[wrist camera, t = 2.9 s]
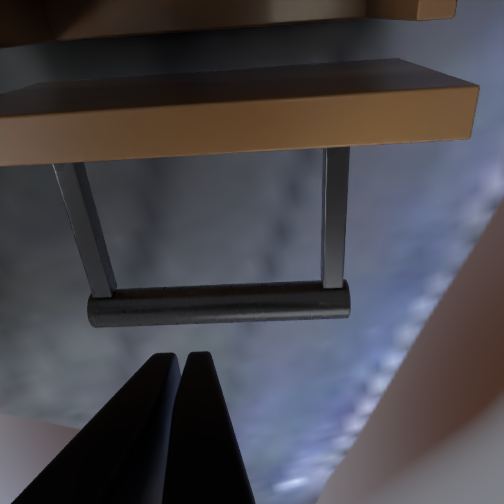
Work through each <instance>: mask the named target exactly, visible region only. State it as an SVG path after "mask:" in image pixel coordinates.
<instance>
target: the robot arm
mask: <svg viewBox="0 0 504 504" xmlns="http://www.w3.org/2000/svg"><path fill="white" fill-rule="evenodd" d="M11 504H256V503H255V499H254V496H253V493H252V489H251V486H250V483H249V479H248V476H247V473H246V469H245V466H244V463H243V459H242V456H241V453H240V449H239V446H238V443H237V439H236V436H235V433H234V429H233V426H232V423H231V419H230V416H229V413H228V409H227V406H226V402H225V399H224V396H223V392H222V389H221V386H220V382H219V379H218V376H217V372H216V369H215V366H214V362H213V359H212V356H211V353H210V352H208V351H204V352H191V353H190V354H189V355H188V358H187V361H186V364H185V367H184V370H183V374H182V377H181V373H180V368H179V363H178V359H177V356H176V354H174V353H156V354H154V355H152V356H151V357H150V358H149V359H148V360H147V361H146V362H145V363H144V365H143V366H142V367H141V368H140V369H139V370H138V371H137V372H136V373H135V374H134V375H133V376H132V377H131V378H130V379H129V380H128V381H127V382H126V383H125V384H124V386H123V387H122V388H121V389H120V390H119V391H118V392H117V393H116V394H115V395H114V396H113V397H112V398H111V399H110V400H109V401H108V402H107V403H106V404H105V405H104V407H103V408H102V409H101V410H100V411H99V412H98V413H97V414H96V415H95V416H94V417H93V418H92V419H91V420H90V421H89V422H88V423H87V424H86V425H85V426H84V427H83V429H82V430H81V431H80V432H79V433H78V434H77V435H76V436H75V437H74V438H73V439H72V440H71V441H70V442H69V443H68V444H67V445H66V446H65V447H64V449H63V450H62V451H61V452H60V453H59V454H58V455H57V456H56V457H55V458H54V459H53V460H52V461H51V462H50V463H49V464H48V465H47V466H46V467H45V468H44V470H43V471H42V472H41V473H40V474H39V475H38V476H37V477H36V478H35V479H34V480H33V481H32V482H31V483H30V484H29V485H28V486H27V487H26V488H25V489H24V490H23V492H22V493H21V494H20V495H19V496H18V497H17V498H16V499H15V500H14V501H13V502H12V503H11Z"/></svg>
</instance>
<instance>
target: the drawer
mask: <svg viewBox="0 0 504 504" xmlns="http://www.w3.org/2000/svg"><path fill="white" fill-rule="evenodd" d="M456 6H457V0H0V49H2V48H9V47H17V46H24V45H31V44H39V43H46V42H53V41H67V40H80V39H94V38H107V37H121V36H134V35H148V34H161V33H175V32H189V31H202V30H216V29H229V28H243V27H256V26H270V25H283V24H297V23H310V22H324V21H337V20H351V19H365V18H369V19H388V20H407V21H426V20H440V19H452V18H454V17H455V13H456ZM479 90H480V86H479V85H477V84H474V83H471V82H468V81H465V80H462V79H459V78H456V77H453V76H450V75H447V74H444V73H441V72H438V71H435V70H432V69H429V68H426V67H423V66H420V65H417V64H414V63H411V62H408V61H405V60H402V59H399V58H393V59H378V60H364V61H349V62H335V63H320V64H306V65H291V66H277V67H262V68H248V69H233V70H218V71H204V72H189V73H175V74H160V75H146V76H131V77H117V78H102V79H88V80H73V81H58V82H44V83H37V84H34V85H30V86H27V87H24V88H21V89H18V90H14V91H11V92H8V93H5V94H2V95H0V167H7V166H24V165H41V164H52V165H53V168H54V172H55V175H56V178H57V181H58V185H59V188H60V191H61V194H62V198H63V201H64V204H65V207H66V211H67V214H68V217H69V220H70V223H71V227H72V230H73V233H74V236H75V240H76V243H77V246H78V249H79V253H80V256H81V259H82V262H83V266H84V269H85V272H86V275H87V278H88V282H89V285H90V288H91V291H92V293H91V294H90V296H89V299H88V305H87V314H88V319H89V322H90V324H91V325H92V326H93V327H95V328H101V327H128V326H154V325H181V324H208V323H234V322H261V321H287V320H314V319H341V318H348V317H349V315H350V308H351V302H350V291H349V286H348V283H347V281H346V280H345V279H343V275H344V255H345V235H346V215H347V195H348V175H349V155H350V146H366V145H383V144H400V143H417V142H434V141H451V140H467V139H470V137H471V132H472V127H473V122H474V116H475V111H476V106H477V101H478V95H479ZM314 148H323V175H322V231H321V280H318V281H294V282H270V283H247V284H223V285H200V286H176V287H152V288H129V289H116V288H117V284H116V280H115V277H114V273H113V269H112V266H111V262H110V258H109V255H108V251H107V247H106V243H105V240H104V236H103V232H102V229H101V225H100V221H99V218H98V214H97V210H96V206H95V203H94V199H93V195H92V192H91V188H90V184H89V181H88V177H87V173H86V169H85V166H84V162H92V161H109V160H126V159H143V158H161V157H178V156H195V155H212V154H229V153H246V152H263V151H280V150H297V149H314Z"/></svg>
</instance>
